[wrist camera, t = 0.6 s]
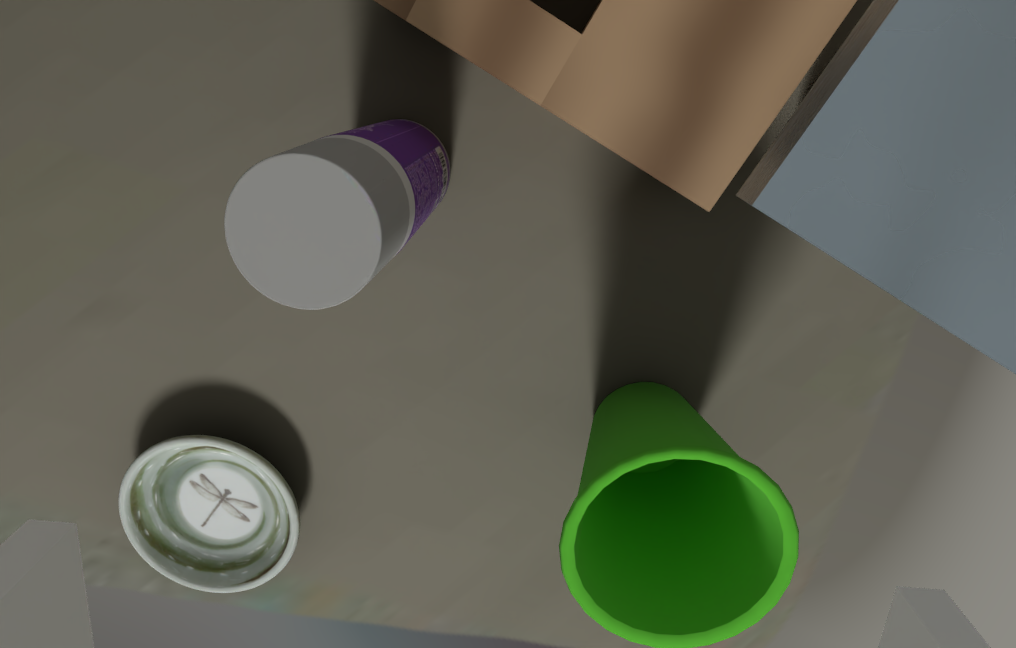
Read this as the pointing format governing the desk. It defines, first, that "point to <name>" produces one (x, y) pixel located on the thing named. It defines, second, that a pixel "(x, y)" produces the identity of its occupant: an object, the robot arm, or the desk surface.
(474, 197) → the desk surface
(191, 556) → the saucer
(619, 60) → the socket block
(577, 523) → the cup
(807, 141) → the grey flat-topped post
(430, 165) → the container
